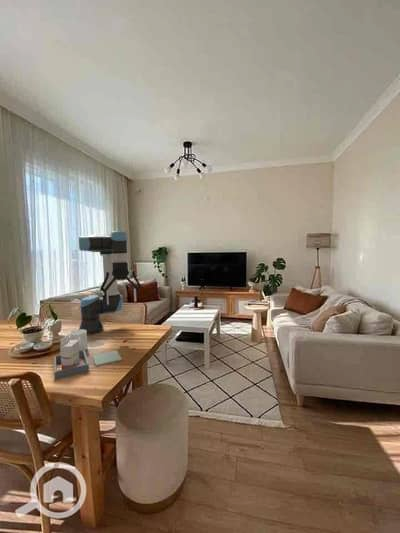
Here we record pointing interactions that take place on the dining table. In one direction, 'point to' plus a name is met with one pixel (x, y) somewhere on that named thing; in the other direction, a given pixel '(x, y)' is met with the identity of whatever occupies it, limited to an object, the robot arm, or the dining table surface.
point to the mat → (106, 358)
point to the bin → (72, 370)
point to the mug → (80, 338)
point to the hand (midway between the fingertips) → (121, 302)
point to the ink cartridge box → (69, 353)
